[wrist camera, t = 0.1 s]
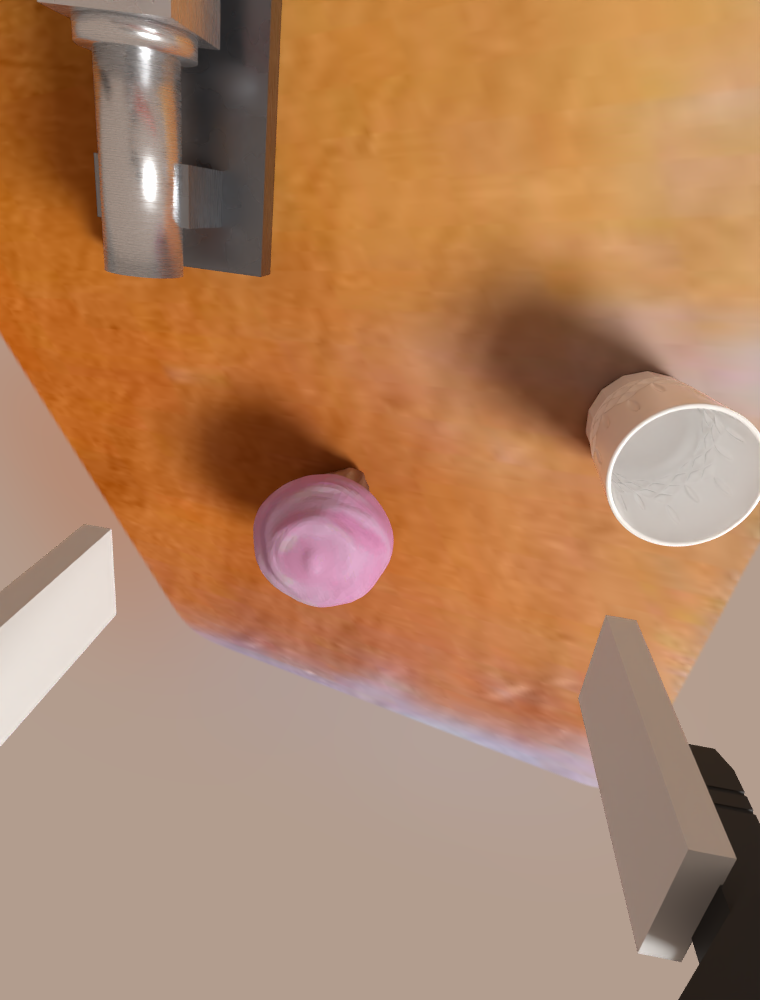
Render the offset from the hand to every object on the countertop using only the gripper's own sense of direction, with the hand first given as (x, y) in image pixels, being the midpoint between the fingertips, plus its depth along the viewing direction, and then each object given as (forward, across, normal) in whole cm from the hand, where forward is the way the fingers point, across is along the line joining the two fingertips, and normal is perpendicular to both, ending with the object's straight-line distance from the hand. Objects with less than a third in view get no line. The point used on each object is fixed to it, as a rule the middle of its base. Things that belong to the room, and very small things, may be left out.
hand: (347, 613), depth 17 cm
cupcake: (+28, -4, -10) cm, 30 cm away
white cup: (+28, +15, -1) cm, 32 cm away
